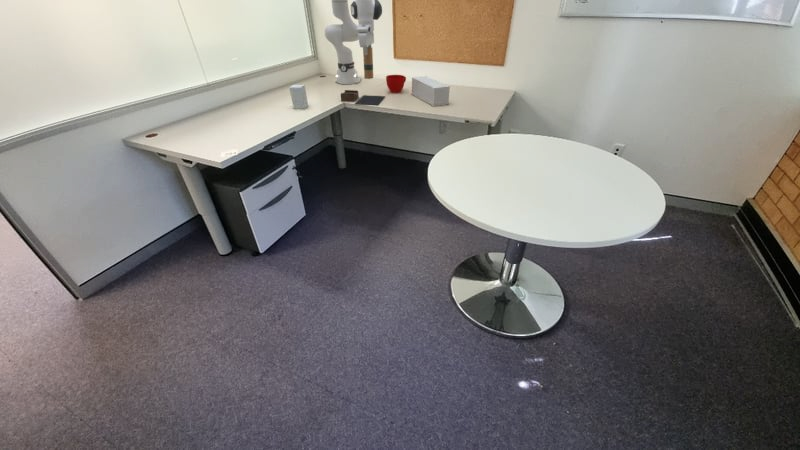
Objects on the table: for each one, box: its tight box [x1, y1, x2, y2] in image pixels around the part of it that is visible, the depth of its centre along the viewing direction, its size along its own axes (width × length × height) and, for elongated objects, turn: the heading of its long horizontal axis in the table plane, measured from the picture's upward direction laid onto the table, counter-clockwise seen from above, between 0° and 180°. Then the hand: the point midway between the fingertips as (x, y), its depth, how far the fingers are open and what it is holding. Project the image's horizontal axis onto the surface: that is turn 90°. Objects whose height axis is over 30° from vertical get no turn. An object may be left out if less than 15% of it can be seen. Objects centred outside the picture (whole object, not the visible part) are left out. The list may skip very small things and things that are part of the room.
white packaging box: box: [289, 84, 309, 110], centre depth 200 cm, size 7×7×13 cm
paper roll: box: [362, 46, 374, 80], centre depth 202 cm, size 17×6×6 cm
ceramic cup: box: [385, 74, 407, 94], centre depth 231 cm, size 13×17×10 cm
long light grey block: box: [411, 75, 450, 107], centre depth 214 cm, size 32×11×11 cm, turn 23°
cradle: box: [340, 89, 360, 103], centre depth 216 cm, size 10×9×5 cm
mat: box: [354, 95, 386, 106], centre depth 215 cm, size 20×15×1 cm
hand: (367, 53), depth 199 cm, fingers closed on paper roll, 5 cm apart
